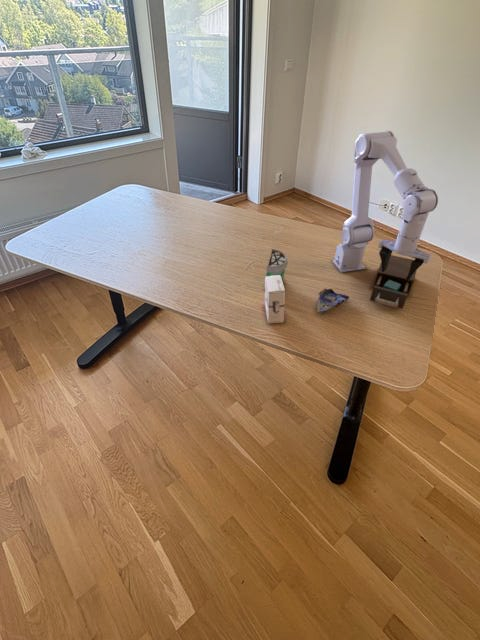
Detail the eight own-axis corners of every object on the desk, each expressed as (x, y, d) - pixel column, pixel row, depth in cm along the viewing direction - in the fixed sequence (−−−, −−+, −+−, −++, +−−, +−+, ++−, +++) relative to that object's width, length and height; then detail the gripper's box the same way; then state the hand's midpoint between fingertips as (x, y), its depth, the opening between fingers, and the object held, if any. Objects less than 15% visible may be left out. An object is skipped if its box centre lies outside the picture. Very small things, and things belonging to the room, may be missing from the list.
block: (392, 300, 109) (396, 289, 106) (380, 295, 111) (383, 285, 108) (397, 294, 111) (401, 284, 108) (385, 289, 113) (389, 279, 110)
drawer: (400, 317, 104) (405, 304, 101) (366, 308, 107) (370, 295, 104) (408, 288, 115) (412, 275, 112) (377, 280, 119) (381, 268, 115)
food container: (283, 294, 115) (286, 269, 108) (265, 292, 116) (266, 267, 109) (287, 274, 124) (289, 249, 117) (270, 272, 125) (271, 248, 118)
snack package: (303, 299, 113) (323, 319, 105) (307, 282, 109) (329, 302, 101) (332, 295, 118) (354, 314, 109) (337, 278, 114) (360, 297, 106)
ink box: (263, 306, 110) (264, 275, 102) (279, 305, 110) (281, 274, 103) (267, 324, 104) (269, 292, 96) (283, 323, 104) (286, 291, 96)
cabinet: (407, 297, 113) (413, 280, 108) (372, 288, 117) (377, 271, 112) (412, 277, 121) (419, 261, 117) (380, 269, 125) (384, 253, 121)
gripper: (441, 237, 95) (424, 278, 104) (390, 222, 103) (379, 261, 112) (432, 246, 92) (415, 288, 100) (380, 230, 99) (369, 270, 108)
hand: (395, 274), depth 106 cm, fingers open, 7 cm apart
